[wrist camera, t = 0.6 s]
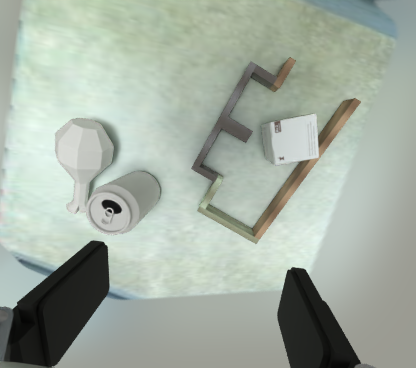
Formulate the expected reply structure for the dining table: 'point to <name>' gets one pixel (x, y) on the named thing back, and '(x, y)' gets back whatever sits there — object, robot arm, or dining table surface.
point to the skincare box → (291, 139)
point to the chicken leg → (82, 156)
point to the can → (122, 203)
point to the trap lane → (244, 134)
